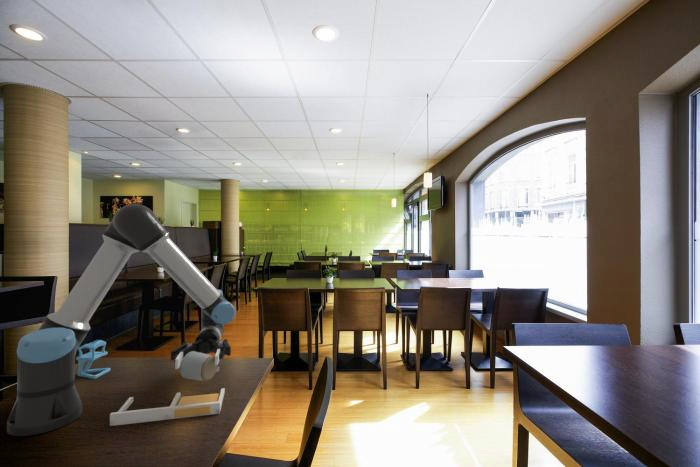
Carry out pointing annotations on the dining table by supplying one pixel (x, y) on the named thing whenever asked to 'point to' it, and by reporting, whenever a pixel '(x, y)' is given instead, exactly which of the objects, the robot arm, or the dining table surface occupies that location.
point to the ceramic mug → (198, 366)
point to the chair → (91, 359)
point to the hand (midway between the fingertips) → (196, 362)
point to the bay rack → (170, 409)
